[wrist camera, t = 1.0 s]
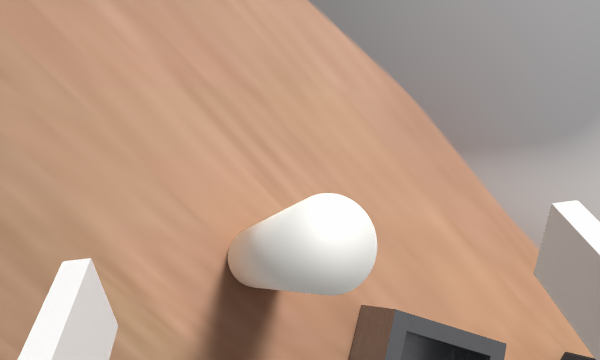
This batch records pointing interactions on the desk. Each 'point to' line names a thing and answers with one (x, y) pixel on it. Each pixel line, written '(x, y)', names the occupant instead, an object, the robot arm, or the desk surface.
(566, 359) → the ammunition clip
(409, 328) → the square open box
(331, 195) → the cylinder
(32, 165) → the desk surface
